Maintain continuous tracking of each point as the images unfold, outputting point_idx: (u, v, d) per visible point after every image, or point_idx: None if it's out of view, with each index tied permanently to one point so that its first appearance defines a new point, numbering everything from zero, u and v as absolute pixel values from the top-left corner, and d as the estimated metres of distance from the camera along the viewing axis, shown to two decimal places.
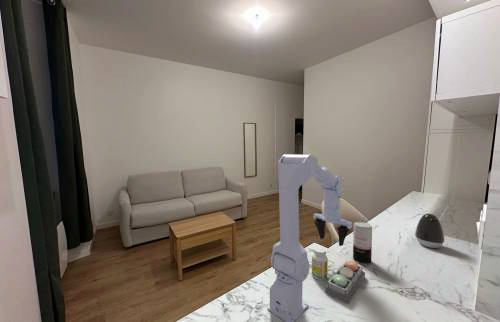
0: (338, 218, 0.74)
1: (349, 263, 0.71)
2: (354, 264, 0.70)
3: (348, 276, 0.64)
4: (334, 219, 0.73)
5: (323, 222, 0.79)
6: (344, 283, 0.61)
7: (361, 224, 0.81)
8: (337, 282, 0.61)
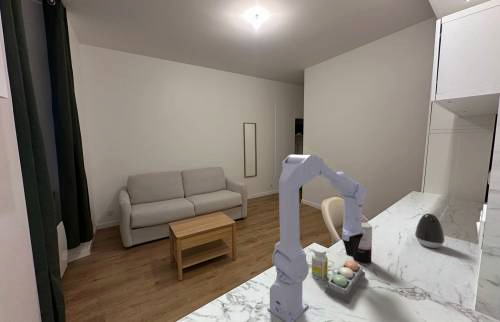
0: (348, 228, 0.68)
1: (349, 263, 0.71)
2: (354, 264, 0.70)
3: (348, 276, 0.64)
4: (344, 227, 0.70)
5: (355, 235, 0.71)
6: (344, 283, 0.61)
7: None
8: (337, 282, 0.61)
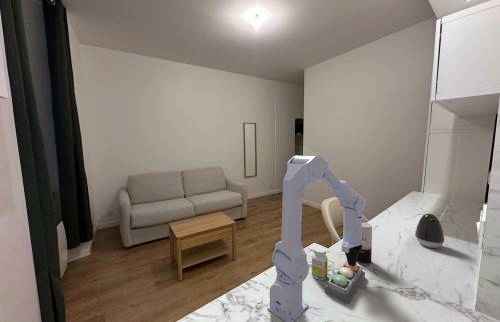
0: (348, 240, 0.68)
1: None
2: None
3: (348, 276, 0.64)
4: (344, 238, 0.70)
5: None
6: (344, 283, 0.61)
7: None
8: (337, 282, 0.61)
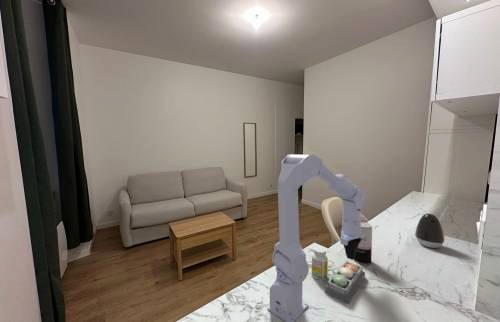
0: (347, 232, 0.67)
1: (349, 266, 0.71)
2: (354, 267, 0.70)
3: (348, 276, 0.64)
4: (343, 231, 0.69)
5: None
6: (344, 283, 0.61)
7: (361, 224, 0.81)
8: (337, 282, 0.61)
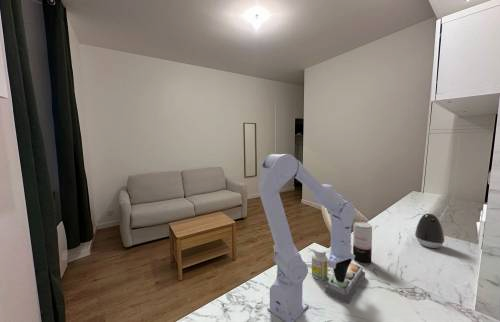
0: (336, 253, 0.60)
1: (349, 266, 0.71)
2: (354, 267, 0.70)
3: (348, 276, 0.64)
4: (331, 250, 0.62)
5: (342, 261, 0.62)
6: (344, 285, 0.61)
7: (361, 224, 0.81)
8: (337, 284, 0.61)
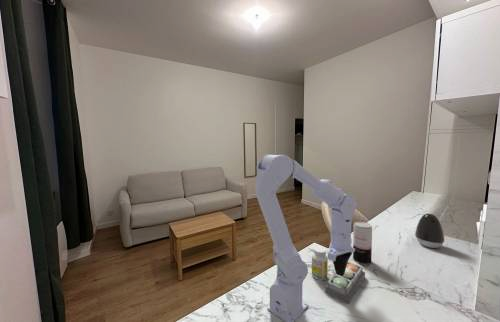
0: (336, 246, 0.60)
1: (349, 266, 0.71)
2: (354, 267, 0.70)
3: (348, 276, 0.64)
4: (331, 244, 0.62)
5: None
6: (344, 287, 0.61)
7: (361, 224, 0.81)
8: (337, 285, 0.61)
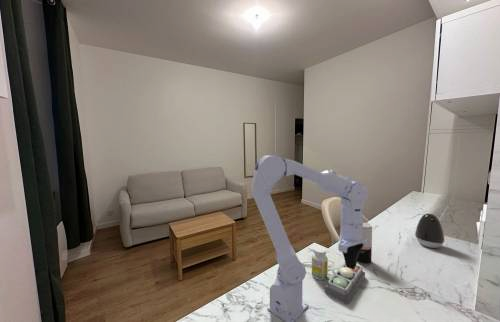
0: (347, 237, 0.56)
1: None
2: None
3: (348, 276, 0.64)
4: (341, 235, 0.58)
5: None
6: (344, 287, 0.61)
7: None
8: (337, 285, 0.61)
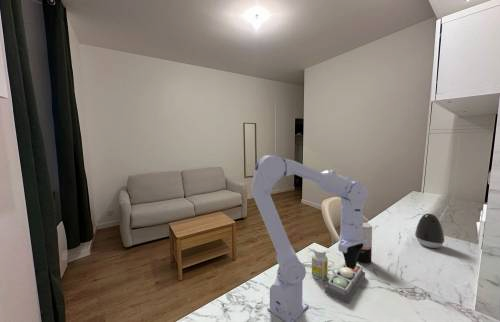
0: (347, 237, 0.56)
1: None
2: None
3: (348, 276, 0.64)
4: (341, 235, 0.58)
5: None
6: (344, 287, 0.61)
7: None
8: (337, 285, 0.61)
